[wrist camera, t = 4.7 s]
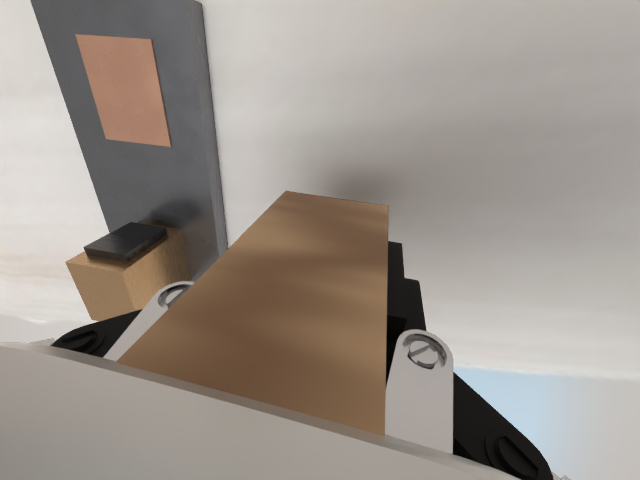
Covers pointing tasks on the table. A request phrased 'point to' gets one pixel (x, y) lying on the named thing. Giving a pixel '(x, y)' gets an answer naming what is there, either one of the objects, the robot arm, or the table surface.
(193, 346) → the brown rectangular block
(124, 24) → the gray base with block
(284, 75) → the table surface
